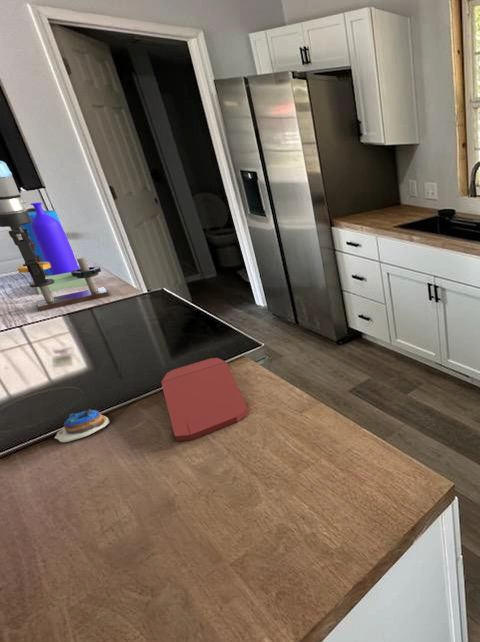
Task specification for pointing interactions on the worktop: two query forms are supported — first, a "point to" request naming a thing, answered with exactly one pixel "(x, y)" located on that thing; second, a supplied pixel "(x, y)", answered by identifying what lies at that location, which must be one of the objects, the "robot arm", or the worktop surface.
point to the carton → (202, 398)
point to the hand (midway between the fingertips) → (40, 280)
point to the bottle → (52, 242)
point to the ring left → (42, 264)
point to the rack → (73, 298)
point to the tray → (64, 282)
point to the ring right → (84, 273)
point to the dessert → (81, 425)
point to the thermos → (33, 240)
